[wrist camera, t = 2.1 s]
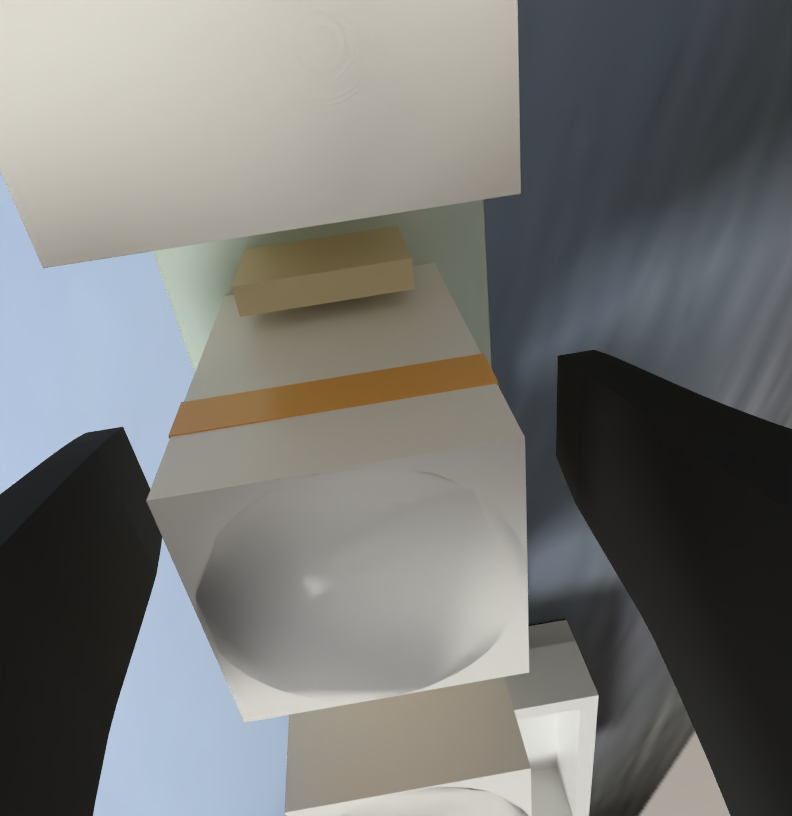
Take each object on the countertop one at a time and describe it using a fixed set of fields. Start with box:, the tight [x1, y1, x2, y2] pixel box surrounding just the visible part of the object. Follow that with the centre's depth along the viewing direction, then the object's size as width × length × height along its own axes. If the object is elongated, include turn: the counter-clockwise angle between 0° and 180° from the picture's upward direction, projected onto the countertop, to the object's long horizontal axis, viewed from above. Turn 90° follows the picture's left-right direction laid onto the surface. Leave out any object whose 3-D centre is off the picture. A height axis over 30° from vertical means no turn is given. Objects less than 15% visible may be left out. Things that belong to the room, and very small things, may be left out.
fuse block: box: [153, 200, 492, 372], centre depth 12 cm, size 19×6×3 cm, turn 7°
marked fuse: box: [146, 263, 529, 722], centre depth 10 cm, size 4×4×6 cm
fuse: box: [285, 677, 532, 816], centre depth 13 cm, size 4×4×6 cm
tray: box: [505, 620, 599, 816], centre depth 20 cm, size 8×8×3 cm
